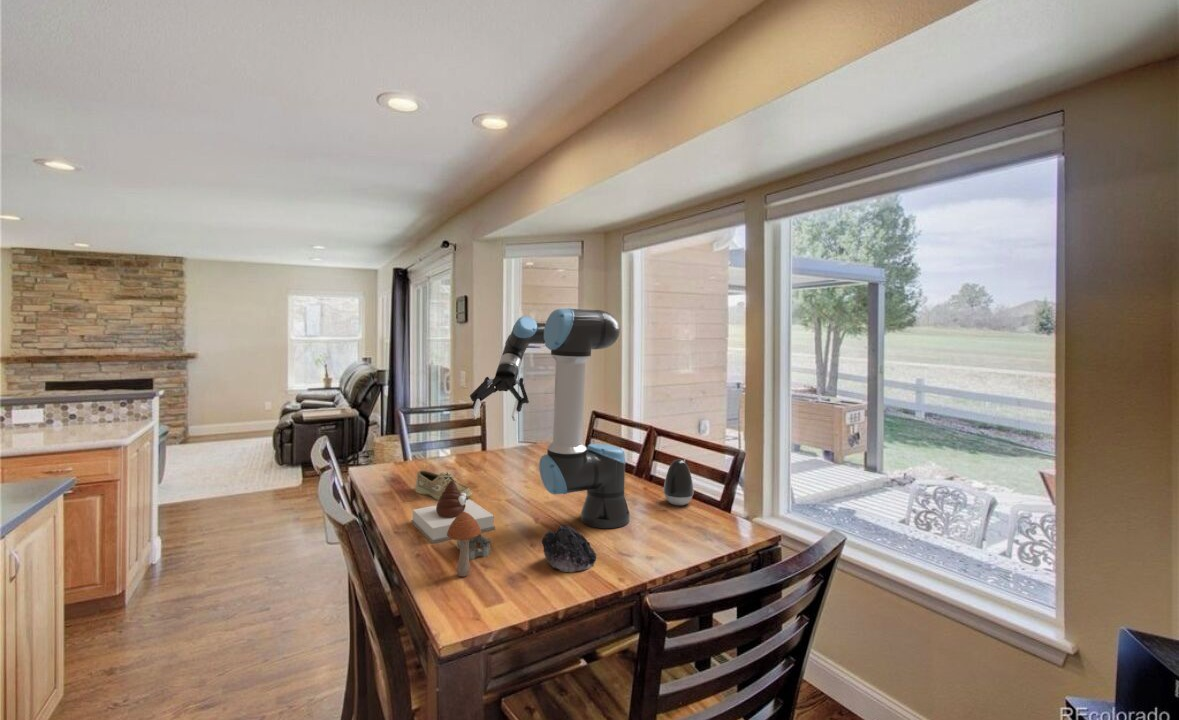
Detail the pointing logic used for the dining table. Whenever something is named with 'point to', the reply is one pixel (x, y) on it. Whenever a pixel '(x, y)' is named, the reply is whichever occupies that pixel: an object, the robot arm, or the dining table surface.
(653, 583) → the dining table surface
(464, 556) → the mushroom
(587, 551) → the crystal cluster
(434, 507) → the podium
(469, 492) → the boat shoe
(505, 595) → the dining table surface
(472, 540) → the stone castle ruin
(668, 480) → the black egg shaped device
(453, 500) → the poop emoji
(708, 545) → the dining table surface
